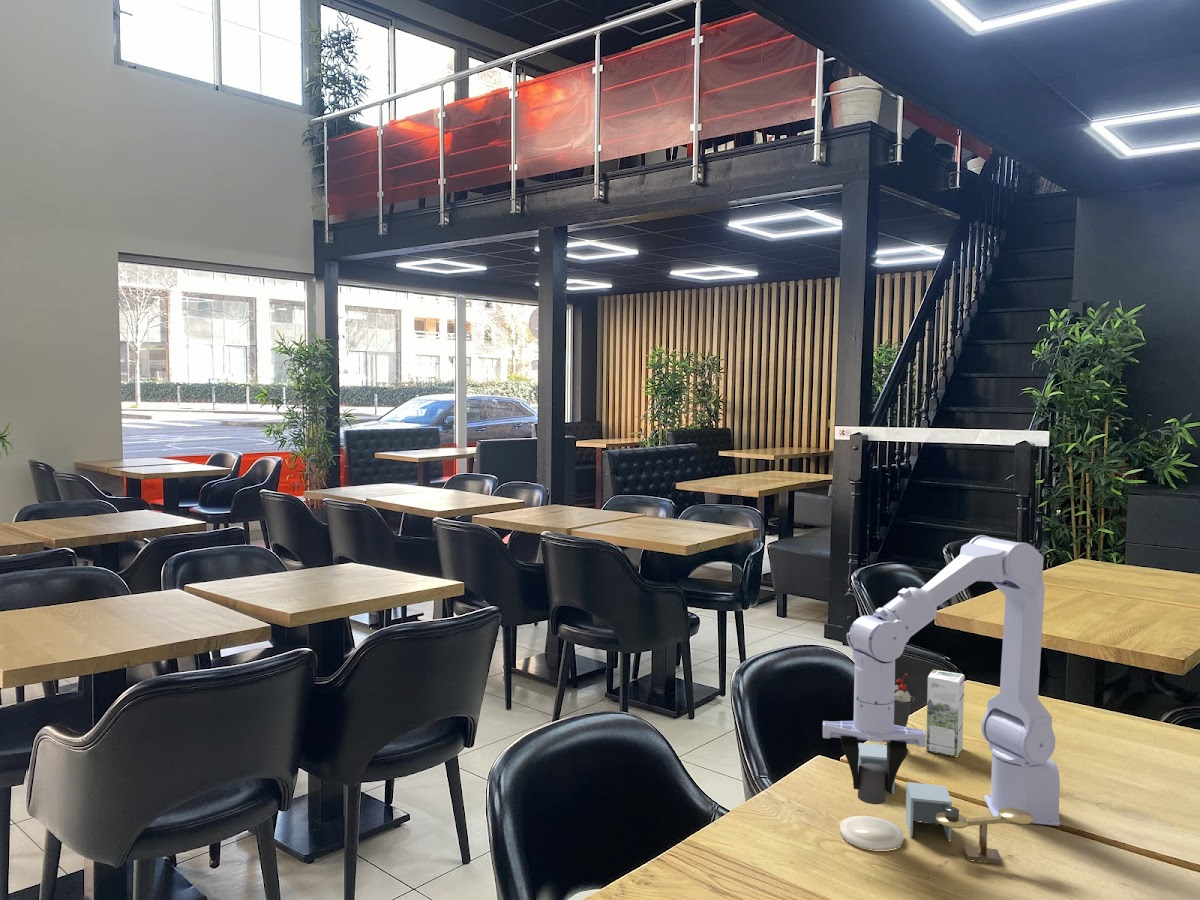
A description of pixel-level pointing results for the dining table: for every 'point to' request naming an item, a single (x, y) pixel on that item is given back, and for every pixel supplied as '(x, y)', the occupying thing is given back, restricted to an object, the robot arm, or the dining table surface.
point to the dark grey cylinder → (872, 783)
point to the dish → (871, 833)
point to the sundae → (901, 703)
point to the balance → (983, 829)
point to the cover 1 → (873, 756)
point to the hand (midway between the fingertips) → (872, 788)
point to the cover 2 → (926, 804)
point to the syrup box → (945, 712)
